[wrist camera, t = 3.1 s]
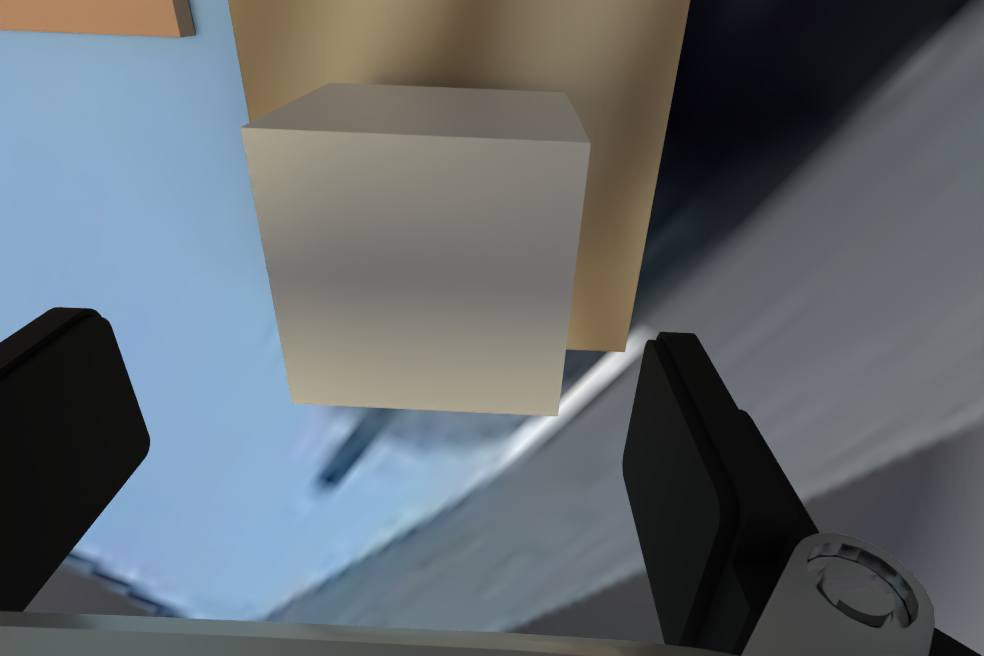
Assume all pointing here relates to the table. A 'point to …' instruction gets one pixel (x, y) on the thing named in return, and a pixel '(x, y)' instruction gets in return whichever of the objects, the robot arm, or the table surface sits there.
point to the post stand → (505, 66)
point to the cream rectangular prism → (421, 243)
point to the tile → (99, 17)
